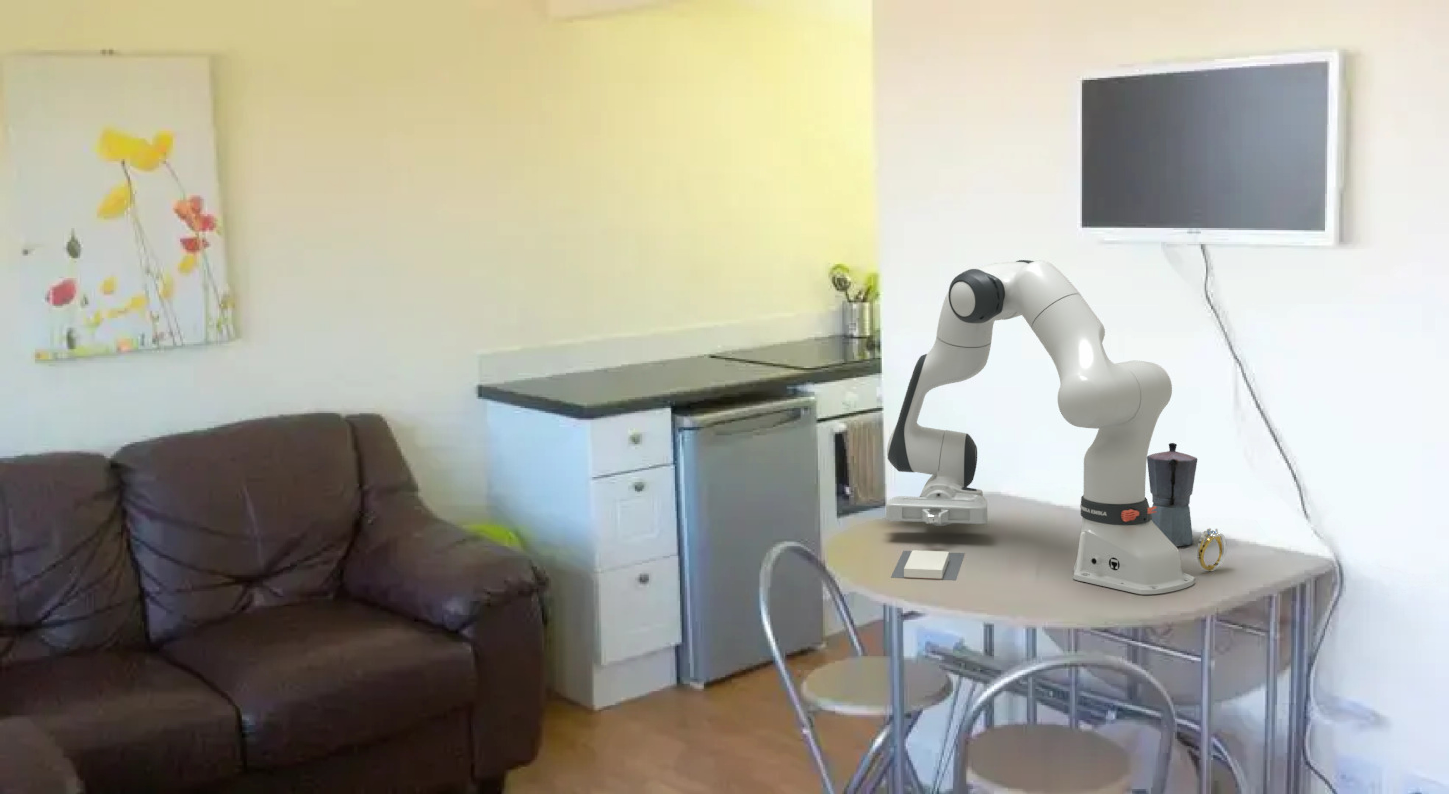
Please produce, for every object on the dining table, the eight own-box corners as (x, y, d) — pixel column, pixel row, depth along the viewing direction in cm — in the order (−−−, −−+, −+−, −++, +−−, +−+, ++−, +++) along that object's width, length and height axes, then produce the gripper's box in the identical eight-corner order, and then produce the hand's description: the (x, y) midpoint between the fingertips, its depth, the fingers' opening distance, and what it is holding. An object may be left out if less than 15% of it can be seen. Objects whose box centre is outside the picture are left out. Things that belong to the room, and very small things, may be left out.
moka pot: (1191, 534, 311) (1193, 437, 307) (1201, 554, 296) (1203, 452, 292) (1142, 533, 312) (1144, 436, 309) (1149, 553, 297) (1151, 451, 294)
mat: (903, 553, 302) (903, 550, 302) (964, 555, 299) (964, 553, 299) (890, 580, 284) (890, 577, 284) (955, 582, 281) (955, 580, 281)
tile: (912, 550, 295) (903, 568, 283) (948, 551, 293) (942, 570, 281) (912, 559, 295) (904, 578, 283) (949, 560, 294) (942, 579, 281)
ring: (1204, 576, 281) (1205, 533, 280) (1191, 572, 284) (1191, 530, 282) (1231, 570, 284) (1232, 528, 283) (1218, 566, 287) (1219, 524, 286)
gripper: (889, 486, 316) (880, 502, 302) (990, 490, 311) (985, 506, 298) (889, 516, 317) (880, 533, 303) (989, 520, 312) (985, 537, 299)
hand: (933, 520), depth 300 cm, fingers closed
